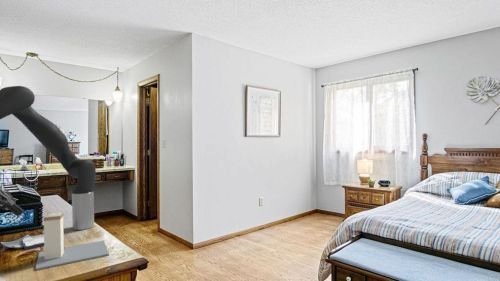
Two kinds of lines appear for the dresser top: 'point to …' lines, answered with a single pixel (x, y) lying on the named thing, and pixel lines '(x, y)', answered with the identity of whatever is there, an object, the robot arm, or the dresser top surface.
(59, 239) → the cream block
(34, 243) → the dark grey smartphone
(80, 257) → the rubber mat
